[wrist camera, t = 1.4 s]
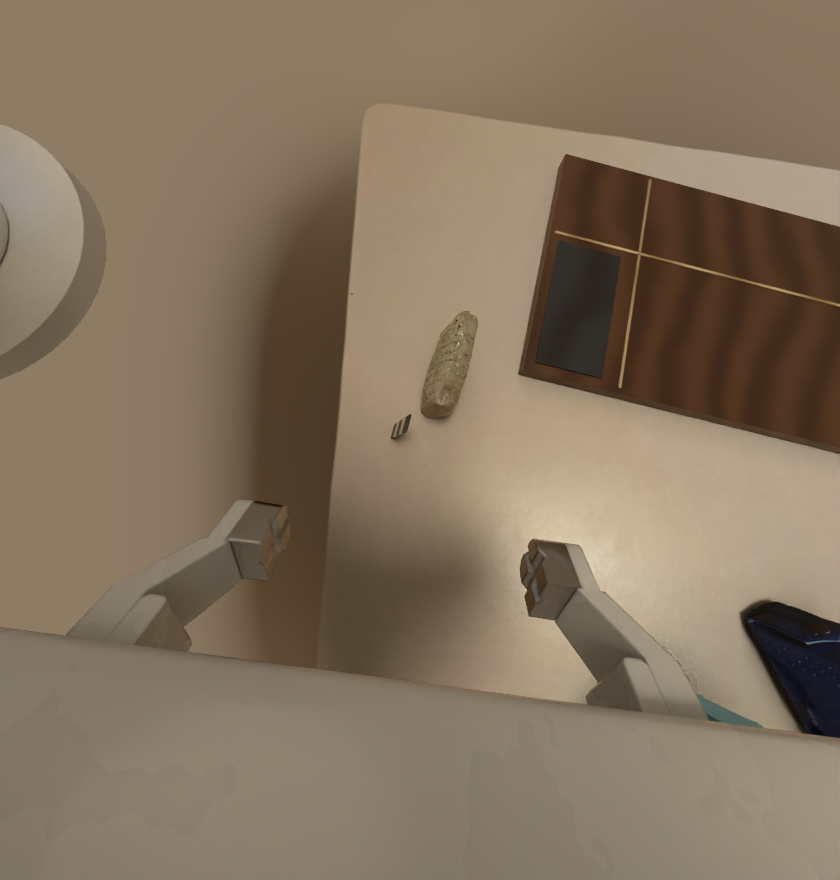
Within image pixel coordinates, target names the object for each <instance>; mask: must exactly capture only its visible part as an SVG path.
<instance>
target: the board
mask: <svg viewBox="0 0 840 880" xmlns="http://www.w3.org/2000/svg"><path fill="white" fill-rule="evenodd" d="M519 374H520V375H524V376H528V377H532V378H537V379H541V380H545V381H549V382H553V383H557V384H561V385H565V386H569V387H573V388H577V389H581V390H585V391H589V392H593V393H597V394H601V395H606V396H610V397H614V398H618V399H622V400H626V401H630V402H634V403H638V404H642V405H646V406H650V407H654V408H658V409H662V410H666V411H671V412H675V413H679V414H683V415H687V416H691V417H695V418H699V419H703V420H707V421H711V422H715V423H719V424H723V425H727V426H731V427H735V428H740V429H744V430H748V431H752V432H756V433H760V434H764V435H768V436H772V437H776V438H780V439H784V440H788V441H792V442H796V443H800V444H804V445H809V446H813V447H817V448H821V449H825V450H829V451H833V452H837V453H840V227H838V226H834V225H831V224H827V223H823V222H819V221H816V220H812V219H808V218H804V217H801V216H797V215H793V214H789V213H786V212H782V211H778V210H774V209H771V208H767V207H763V206H759V205H755V204H752V203H748V202H744V201H740V200H737V199H733V198H729V197H725V196H722V195H718V194H714V193H710V192H707V191H703V190H699V189H695V188H692V187H688V186H684V185H680V184H677V183H673V182H669V181H665V180H662V179H658V178H654V177H650V176H646V175H643V174H639V173H635V172H631V171H628V170H624V169H620V168H616V167H613V166H609V165H605V164H601V163H598V162H594V161H590V160H586V159H583V158H579V157H575V156H571V155H568V154H565V156H564V158H563V160H562V162H561V164H560V166H559V171H558V176H557V181H556V186H555V191H554V196H553V201H552V206H551V212H550V217H549V222H548V227H547V232H546V237H545V242H544V247H543V252H542V258H541V263H540V268H539V273H538V278H537V283H536V288H535V293H534V298H533V304H532V309H531V314H530V319H529V324H528V329H527V334H526V339H525V344H524V350H523V355H522V360H521V365H520V370H519Z"/></svg>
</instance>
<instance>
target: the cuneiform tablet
mask: <svg viewBox="0 0 840 880" xmlns="http://www.w3.org/2000/svg"><path fill="white" fill-rule="evenodd" d="M477 327H478V320H477V317H476V316H474V315H471V314H470V313H469V312H468V311H464V312H461V313H460V314H458V315H457V316H456V317H455V318H454V320H453V321H452V323H450V324H449V325H448V326H447V327H446V329H445V330H444V331H443V332H442V333H441V335H440V340H439V342H438V346H437V348H436V351H435V353H434V355H433V358H432V361H431V364H430V368H429V370H428V375H427V378H426V381H425V385H424V390H423V397H422V405H421V412H422V413H423V414H424V415H425V416H427V417H429V418H440V417H444V416H447V415H449V414H450V413H451V412H452V411H453V409H454V406H455V405H456V403H457V400H458V396H459V394H460V392H461V388H462V386H463V383H464V381H465V378H466V375H467V371H468V368H469V362H470V358H471V354H472V351H473V345H474V339H475V335H476V331H477ZM410 418H411V415H410V414H409V415H408V416H407V417H405V418H404V419H402V420H401V421H399V422H398V423H396V424H395V425H394V428H393V432H392V436H391V438H392V439H393V438H395V437H397V436H399V435H401V434H404V433H406V432H407V430H408V426H409V422H410Z"/></svg>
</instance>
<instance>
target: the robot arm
mask: <svg viewBox="0 0 840 880" xmlns="http://www.w3.org/2000/svg"><path fill="white" fill-rule="evenodd" d="M7 241H8V222H7V218H6V214H5V212H4V209H3V207H2V205H1V204H0V262H1V260H2V258H3V255H4V253H5V250H6V246H7ZM288 514H289V513H288V508H287V506H283V505H277V504H271V503H265V502H258V501H252V500H245V499H239V500H237V501H236V502H235V503H234V504H233V505H232V506H231V508H230V509H229V510H228V511H227V513H226V514H225V515H224V517H223V518H222V519H221V521H220V522H219V523H218V525H217V526H216V527H215V528H214V529H213V531H212V532H211V533H210V535H209V536H208V537H207V538H201V539H198V540H197V541H195V542H193V543H191V544H189V545H187V546H185V547H184V548H182V549H180V550H178V551H176V552H174V553H173V554H171V555H169V556H167V557H165V558H163V559H161V560H160V561H158V562H156V563H154V564H152V565H150V566H149V567H147V568H145V569H143V570H141V571H139V572H137V573H136V574H134V575H132V576H130V577H128V578H126V579H124V580H123V581H121V582H119V583H117V584H115V585H113V586H111V587H110V588H109V590H108V591H107V592H106V593H105V594H104V595H103V596H102V597H101V598H100V599H99V600H98V601H97V602H96V603H95V604H94V605H93V607H92V608H91V609H90V610H89V611H88V612H87V613H86V614H85V615H84V616H83V617H82V618H81V619H80V620H79V621H78V623H76V625H75V626H74V627H73V628H72V629H71V630H70V631H69V632H68V633H67V634H66V635H65V636H63V635H56V634H48V633H40V632H33V631H25V630H18V629H10V628H3V627H0V880H840V738H835V737H827V736H819V735H812V734H804V733H797V732H789V731H782V730H774V729H767V728H759V727H752V726H744V725H737V724H729V723H722V722H714V721H710V720H709V718H708V716H707V714H706V712H705V710H704V708H703V707H702V705H701V703H700V701H699V699H698V697H697V695H696V693H695V692H694V690H693V688H692V686H691V684H690V682H689V680H688V678H687V677H686V675H685V673H684V671H683V669H682V667H681V665H680V663H679V662H678V661H677V660H675V659H674V658H673V657H672V656H671V655H670V654H669V653H668V652H667V651H666V650H665V649H664V648H663V647H662V646H661V645H660V644H659V643H658V642H657V641H656V640H655V639H654V638H652V637H651V636H650V635H649V634H648V633H647V632H646V631H645V630H644V629H643V628H642V627H641V626H640V625H639V624H638V623H637V622H636V621H635V620H634V619H633V618H632V617H630V616H629V615H628V614H627V613H626V612H625V611H624V610H623V609H622V608H621V607H620V606H619V605H618V604H617V603H616V602H615V601H614V600H613V599H612V598H611V597H610V596H609V595H607V594H606V593H605V592H602V591H600V590H599V588H598V585H597V583H596V581H595V578H594V576H593V574H592V571H591V569H590V567H589V564H588V562H587V560H586V557H585V555H584V553H583V550H582V548H581V547H580V546H579V545H575V544H568V543H561V542H553V541H545V540H537V539H532V540H531V541H530V542H529V544H528V550H529V552H527V553H525V554H524V555H523V557H522V559H521V564H520V577H521V582H522V584H523V585H524V586H525V588H526V589H527V592H526V594H525V596H524V597H525V601H526V606H527V610H528V615H529V616H530V617H536V618H543V619H549V620H555V623H556V624H557V626H558V627H559V628H560V630H561V631H562V632H563V634H564V635H565V637H566V638H567V639H568V641H569V642H570V644H571V645H572V646H573V648H574V649H575V651H576V652H577V653H578V655H579V656H580V658H581V659H582V660H583V662H584V663H585V664H586V666H587V667H588V669H589V670H590V671H591V673H592V674H593V676H594V677H595V678H596V680H597V681H598V684H597V685H596V686H595V687H594V688H593V689H592V690H591V691H590V692H589V693H588V694H587V695H586V699H587V703H588V705H585V704H578V703H570V702H563V701H555V700H548V699H540V698H533V697H525V696H518V695H510V694H502V693H495V692H487V691H480V690H472V689H465V688H457V687H450V686H442V685H435V684H427V683H419V682H412V681H404V680H397V679H389V678H382V677H374V676H367V675H359V674H352V673H344V672H336V671H329V670H321V669H314V668H306V667H298V666H291V665H283V664H276V663H268V662H261V661H252V660H246V659H237V658H230V657H223V656H215V655H208V654H200V653H192V652H188V651H189V649H190V647H191V646H192V642H191V639H190V637H189V636H188V634H187V632H186V631H185V629H184V626H186V625H187V624H188V623H189V622H191V621H192V620H193V619H194V618H196V617H197V616H198V615H199V614H201V613H202V612H203V611H204V610H206V609H207V608H208V607H209V606H210V605H212V604H213V603H214V602H215V601H217V600H218V599H219V598H220V597H222V596H223V595H224V594H225V593H227V592H228V591H229V590H230V589H231V588H233V587H234V586H235V585H236V584H238V583H239V582H240V581H241V580H242V579H252V580H261V581H269V580H270V578H271V576H272V574H273V572H274V570H275V568H276V566H277V564H278V559H277V556H278V555H279V554H281V553H282V552H284V551H285V548H286V546H287V544H288V541H289V537H290V533H291V526H290V522H289V521H288V520H287V519H286V517H287V515H288Z"/></svg>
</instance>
